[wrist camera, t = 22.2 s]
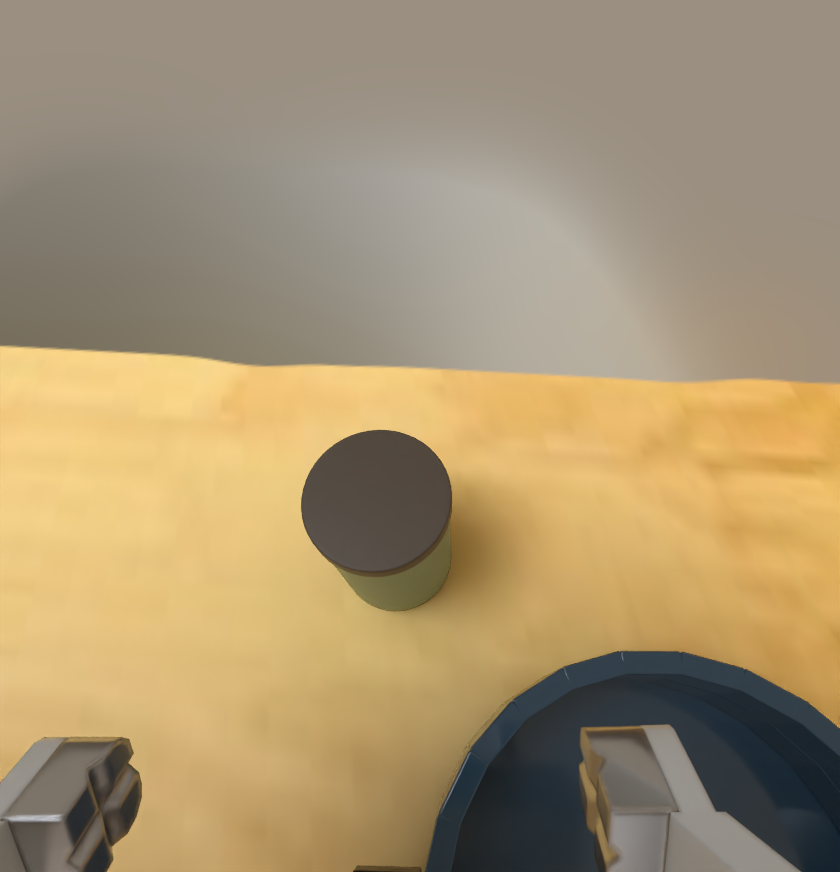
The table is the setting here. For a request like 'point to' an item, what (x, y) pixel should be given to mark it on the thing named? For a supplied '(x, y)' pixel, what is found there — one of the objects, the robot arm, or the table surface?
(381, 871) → the pot ear handles
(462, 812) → the pot
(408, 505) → the canister
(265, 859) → the table surface
